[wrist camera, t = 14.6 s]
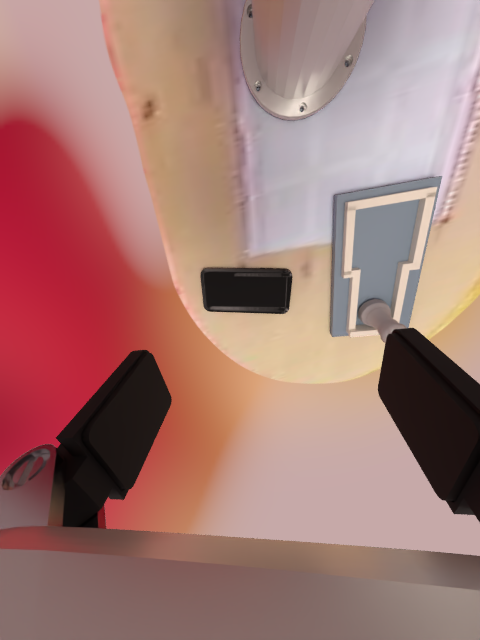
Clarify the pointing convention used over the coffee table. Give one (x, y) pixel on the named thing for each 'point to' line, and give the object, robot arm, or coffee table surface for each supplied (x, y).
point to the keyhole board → (379, 251)
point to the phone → (246, 290)
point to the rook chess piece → (378, 317)
